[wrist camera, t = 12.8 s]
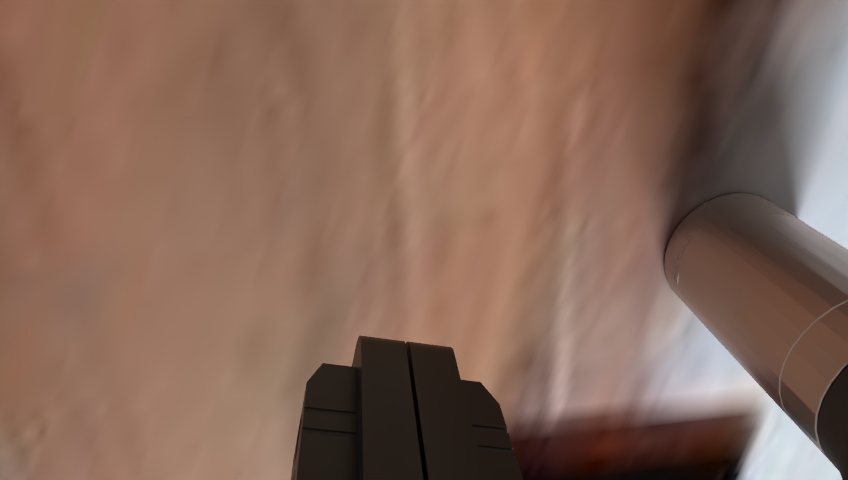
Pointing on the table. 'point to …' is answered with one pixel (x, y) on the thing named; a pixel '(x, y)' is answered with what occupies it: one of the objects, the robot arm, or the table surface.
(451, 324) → the table surface
